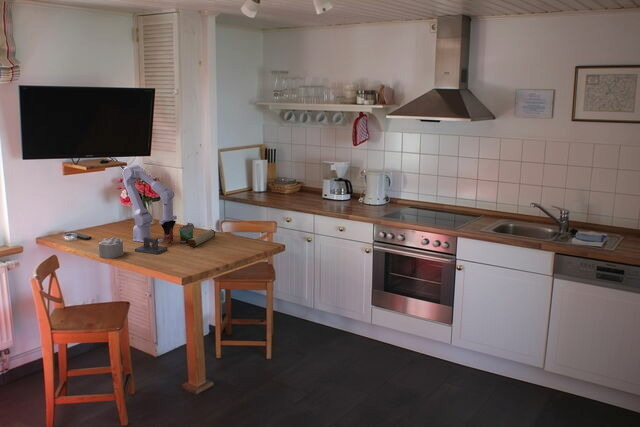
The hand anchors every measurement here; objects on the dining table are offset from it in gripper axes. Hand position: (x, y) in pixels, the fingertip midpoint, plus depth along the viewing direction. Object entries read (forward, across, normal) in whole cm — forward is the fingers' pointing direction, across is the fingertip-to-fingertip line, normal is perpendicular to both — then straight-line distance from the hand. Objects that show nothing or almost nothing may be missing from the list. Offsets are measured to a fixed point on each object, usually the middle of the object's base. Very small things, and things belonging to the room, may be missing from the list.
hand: (168, 233), depth 344 cm
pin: (+5, -5, 0) cm, 7 cm away
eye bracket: (+6, -17, 0) cm, 18 cm away
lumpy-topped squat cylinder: (+6, -31, +14) cm, 35 cm away
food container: (+6, +7, -9) cm, 13 cm away
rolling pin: (+6, +10, -16) cm, 20 cm away
